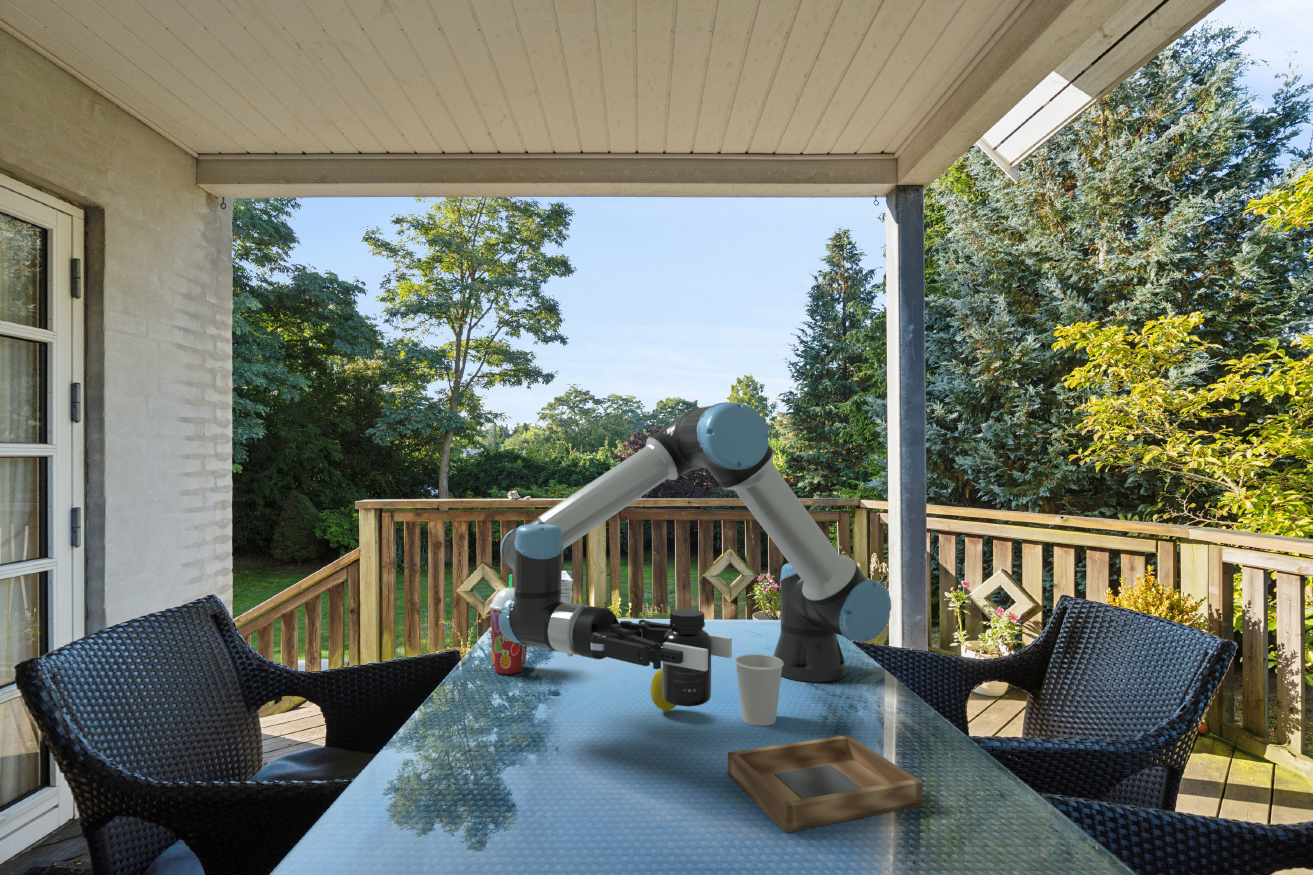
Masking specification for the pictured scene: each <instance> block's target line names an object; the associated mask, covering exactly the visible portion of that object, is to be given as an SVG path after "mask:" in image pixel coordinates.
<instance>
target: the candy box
mask: <svg viewBox="0 0 1313 875" xmlns="http://www.w3.org/2000/svg"><path fill="white" fill-rule="evenodd" d="M573 601H574V579H573V578H572V577H571V576H570V575H569V573H568V572H567V570H562V578H561V602H566V603H573V604H574V602H573ZM547 650H548V651H551V650H550V649H547Z"/></svg>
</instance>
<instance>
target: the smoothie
mask: <svg viewBox="0 0 1313 875" xmlns="http://www.w3.org/2000/svg"><path fill="white" fill-rule="evenodd" d="M514 594H515V586H513V574H512V573H511V574H509V575H508V587H505V588H503V589H501V590H500V591H498V592H497V593H496V594H495V595H494V597H493V598H492V601H491V603H490V604H489V612H490V634H491V635H490V636H491V654H492V655H491V661H492V666H493V667H494V671H495V672H496V673H497V674H501V675H513V674H517V673H520V672H522V671H523V669H524V665H526V660H527V650H528V649H527V648H528V646H524V645H522V644H520V643H516V642H513V641H510V640H508V639H506V638H505V637H504V636H503V634H502V633H501V630H500V627H499V615H500V614H501V612H502V607H503V605H504V603H505V602H506V601H507V600H508V599H510V598H511V597H513V596H514Z"/></svg>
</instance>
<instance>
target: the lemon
mask: <svg viewBox="0 0 1313 875" xmlns="http://www.w3.org/2000/svg"><path fill="white" fill-rule="evenodd" d="M649 691H650V697H651V700H652V703H653V705H655V707H657V708H658V709H660V710H661V711H663V713H666V714H667V713H669V712H670V711H671V710H673V709H674V708H676V706H678V705H674V704H671V703H669V702H667V701H666V700H665V699H664V697H663V667H661V669H657V671H656V672H655V673H654V675H653V677H652V680H651V682H650V690H649Z"/></svg>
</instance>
